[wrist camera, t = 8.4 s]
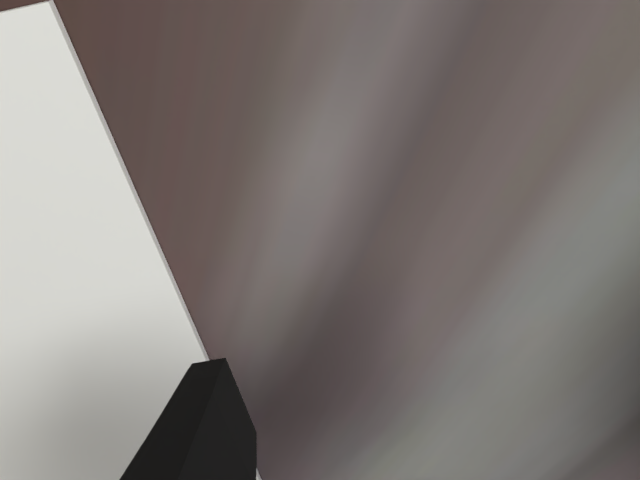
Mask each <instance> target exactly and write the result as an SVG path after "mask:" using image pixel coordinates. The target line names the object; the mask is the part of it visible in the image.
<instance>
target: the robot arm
mask: <svg viewBox="0 0 640 480" xmlns="http://www.w3.org/2000/svg"><path fill="white" fill-rule="evenodd" d="M119 480H256V431H255V428H254V426H253V423H252V421H251V419H250V416H249V414H248V411H247V409H246V406H245V404H244V402H243V399H242V397H241V394H240V392H239V389H238V387H237V385H236V382H235V380H234V377H233V375H232V372H231V370H230V368H229V365H228V363H227V360H226V358H222V359H216V360H210V361H204V362H198V363H192V364H191V366H190V367H189V368H188V370H187V372H186V373H185V375H184V376H183V378H182V380H181V381H180V383H179V385H178V386H177V388H176V390H175V391H174V393H173V395H172V396H171V398H170V400H169V401H168V403H167V405H166V406H165V408H164V410H163V411H162V413H161V415H160V416H159V418H158V419H157V421H156V423H155V424H154V426H153V428H152V429H151V431H150V432H149V434H148V436H147V437H146V439H145V440H144V442H143V444H142V445H141V447H140V448H139V450H138V451H137V453H136V454H135V456H134V458H133V459H132V461H131V462H130V464H129V465H128V467H127V468H126V470H125V472H124V473H123V475H122V476H121V478H120V479H119Z"/></svg>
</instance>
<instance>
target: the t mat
mask: <svg viewBox="0 0 640 480" xmlns="http://www.w3.org/2000/svg"><path fill="white" fill-rule="evenodd" d="M204 361H210V360H209V358H208V355H207V353H206V351H205V348H204V346H203V344H202V342H201V339H200V337H199V335H198V332H197V330H196V328H195V325H194V323H193V321H192V319H191V316H190V314H189V312H188V309H187V307H186V305H185V303H184V300H183V298H182V296H181V293H180V291H179V289H178V286H177V284H176V282H175V280H174V277H173V275H172V273H171V270H170V268H169V266H168V263H167V261H166V259H165V257H164V254H163V252H162V250H161V247H160V245H159V243H158V240H157V238H156V236H155V234H154V231H153V229H152V227H151V224H150V222H149V220H148V217H147V215H146V213H145V211H144V208H143V206H142V204H141V201H140V199H139V197H138V195H137V192H136V190H135V188H134V185H133V183H132V181H131V178H130V176H129V174H128V172H127V169H126V167H125V165H124V162H123V160H122V158H121V155H120V153H119V151H118V149H117V146H116V144H115V142H114V139H113V137H112V135H111V132H110V130H109V128H108V126H107V123H106V121H105V119H104V116H103V114H102V112H101V109H100V107H99V105H98V103H97V100H96V98H95V96H94V93H93V91H92V89H91V86H90V84H89V82H88V80H87V77H86V75H85V73H84V70H83V68H82V66H81V64H80V61H79V59H78V57H77V54H76V52H75V50H74V47H73V45H72V43H71V41H70V38H69V36H68V34H67V31H66V29H65V27H64V24H63V22H62V20H61V18H60V15H59V13H58V11H57V8H56V6H55V4H54V1H53V0H49V1H45V2H40V3H36V4H32V5H27V6H23V7H19V8H14V9H10V10H6V11H2V12H0V480H119V479H120V478H121V476H122V475H123V473H124V472H125V470H126V468H127V467H128V465H129V464H130V462H131V461H132V459H133V458H134V456H135V454H136V453H137V451H138V450H139V448H140V447H141V445H142V444H143V442H144V440H145V439H146V437H147V436H148V434H149V432H150V431H151V429H152V428H153V426H154V424H155V423H156V421H157V419H158V418H159V416H160V415H161V413H162V411H163V410H164V408H165V406H166V405H167V403H168V401H169V400H170V398H171V396H172V395H173V393H174V391H175V390H176V388H177V386H178V385H179V383H180V381H181V380H182V378H183V376H184V375H185V373H186V372H187V370H188V368H189V367H190V366H191V364H192V363H198V362H204ZM256 480H262V479H261V477H260V475H259V473H258V470H257V468H256Z"/></svg>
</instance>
